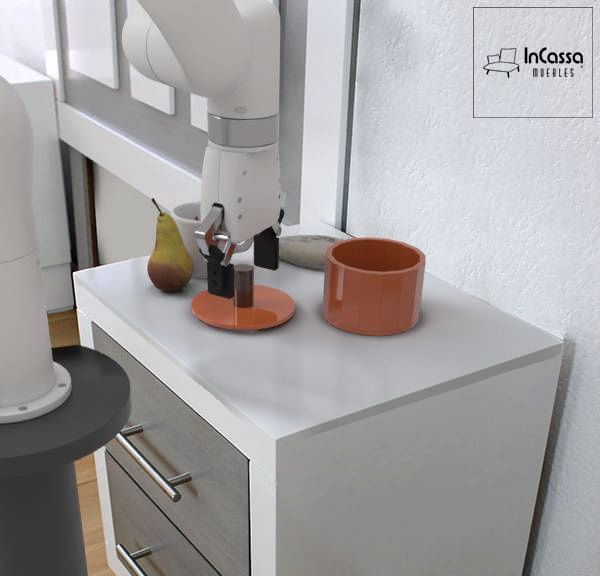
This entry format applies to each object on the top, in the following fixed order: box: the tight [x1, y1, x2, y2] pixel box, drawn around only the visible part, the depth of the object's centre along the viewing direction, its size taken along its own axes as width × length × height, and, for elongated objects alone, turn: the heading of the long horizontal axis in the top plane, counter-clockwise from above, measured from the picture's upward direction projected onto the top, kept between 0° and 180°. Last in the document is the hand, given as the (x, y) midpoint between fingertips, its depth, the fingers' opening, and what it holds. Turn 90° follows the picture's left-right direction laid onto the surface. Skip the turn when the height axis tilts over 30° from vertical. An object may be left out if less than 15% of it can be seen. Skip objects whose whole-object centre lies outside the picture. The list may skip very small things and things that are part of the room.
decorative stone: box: [278, 234, 345, 271], centre depth 120 cm, size 6×16×3 cm, turn 73°
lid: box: [190, 263, 296, 331], centre depth 105 cm, size 12×12×6 cm
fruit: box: [146, 197, 194, 292], centre depth 108 cm, size 6×6×12 cm
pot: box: [322, 236, 427, 337], centre depth 105 cm, size 11×11×8 cm
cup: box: [170, 201, 254, 279], centre depth 115 cm, size 11×8×8 cm
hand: (244, 281), depth 104 cm, fingers open, 9 cm apart
